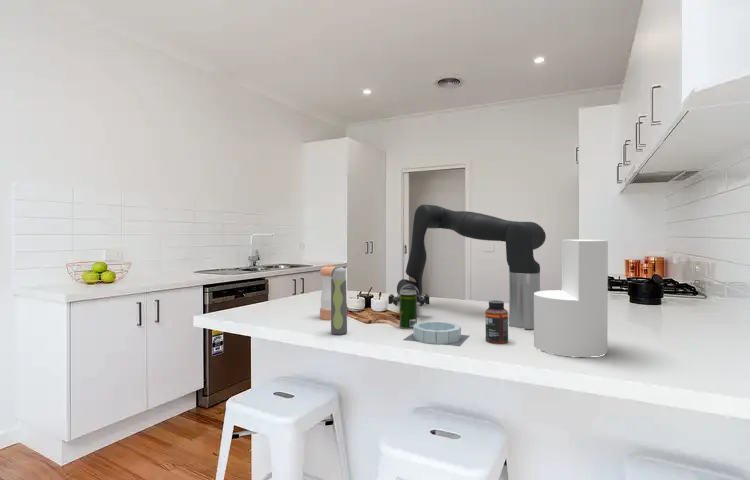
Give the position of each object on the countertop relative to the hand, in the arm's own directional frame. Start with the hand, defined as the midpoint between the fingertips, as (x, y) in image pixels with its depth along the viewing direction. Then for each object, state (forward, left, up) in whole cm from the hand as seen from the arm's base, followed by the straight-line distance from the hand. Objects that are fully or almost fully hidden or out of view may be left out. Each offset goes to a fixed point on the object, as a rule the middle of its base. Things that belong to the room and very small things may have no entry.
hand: (408, 302), depth 140 cm
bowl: (-15, +17, -6) cm, 24 cm away
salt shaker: (+28, +4, -7) cm, 29 cm away
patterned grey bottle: (+14, +22, -7) cm, 27 cm away
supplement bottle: (-31, +14, -7) cm, 35 cm away
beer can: (-3, +8, -7) cm, 11 cm away
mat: (-15, +17, -7) cm, 24 cm away
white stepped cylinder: (-49, +12, -7) cm, 51 cm away
